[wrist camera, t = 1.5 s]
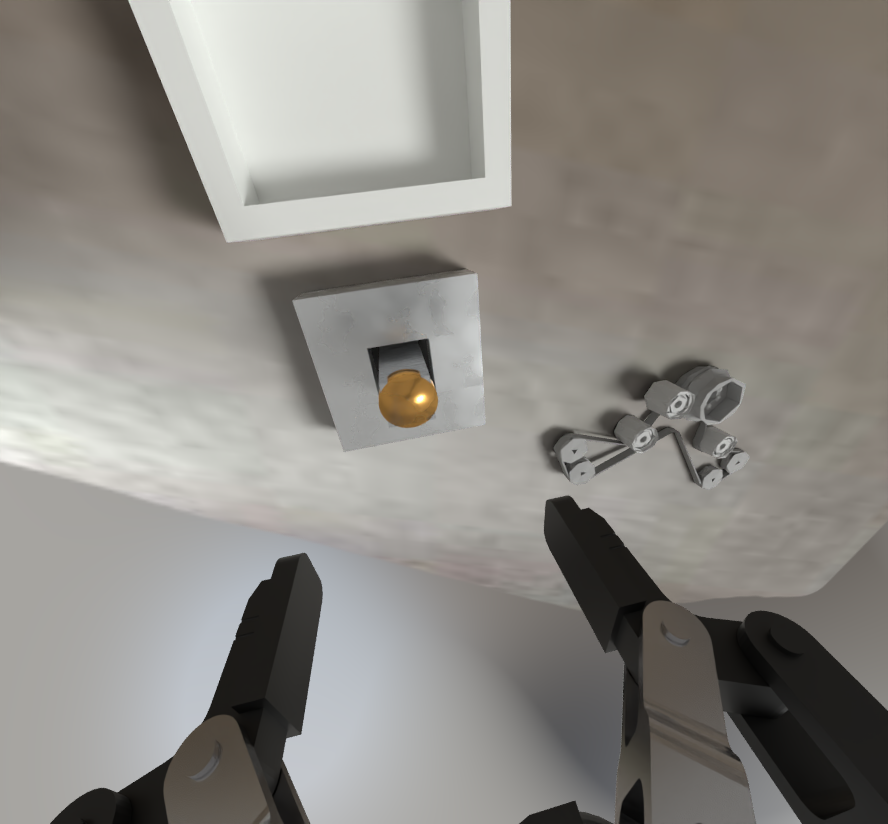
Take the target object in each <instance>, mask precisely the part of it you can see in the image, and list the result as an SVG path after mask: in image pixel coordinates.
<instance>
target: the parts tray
mask: <svg viewBox="0 0 888 824" xmlns="http://www.w3.org/2000/svg"><path fill="white" fill-rule="evenodd" d="M128 1H129V3H130V6H131V8H132V11H133V13H134V16H135V18H136V20H137V23H138V25H139V28H140V30H141V33H142V35H143V38H144V40H145V43H146V45H147V47H148V50H149V52H150V55H151V57H152V60H153V62H154V65H155V67H156V70H157V72H158V75H159V77H160V79H161V82H162V84H163V87H164V89H165V92H166V94H167V97H168V99H169V102H170V104H171V106H172V109H173V111H174V114H175V116H176V119H177V121H178V124H179V126H180V129H181V131H182V133H183V136H184V138H185V141H186V143H187V146H188V148H189V151H190V153H191V156H192V158H193V161H194V163H195V165H196V168H197V170H198V173H199V175H200V178H201V180H202V183H203V185H204V188H205V190H206V192H207V195H208V197H209V200H210V202H211V205H212V207H213V210H214V212H215V215H216V217H217V220H218V222H219V224H220V227H221V229H222V232H223V234H224V237H225V239H226V242H227V243H228V242H243V241H255V240H263V239H271V238H279V237H286V236H294V235H302V234H310V233H318V232H325V231H333V230H341V229H349V228H356V227H364V226H372V225H380V224H387V223H395V222H403V221H411V220H418V219H426V218H434V217H442V216H449V215H457V214H465V213H473V212H480V211H488V210H494V209H499V208H504V207H509V206H511V44H510V0H128Z"/></svg>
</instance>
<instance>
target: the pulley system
mask: <svg viewBox="0 0 888 824" xmlns="http://www.w3.org/2000/svg"><path fill="white" fill-rule="evenodd" d="M745 387H746V384H745V383H742V382H740V381H738V380H736V379H734V378H731V377H730V375H729V372H728V370H727V369H719V368H717V367H712V366H707V367H696V368H694V369H692V370H691V371H689V372H687V373H686V374H684V375H682V377H681V378H680V379H679V380H678V381H677V382H676V384H673V383H671V382H669V381H667V380H663V381H658V382H654V383H653V384H652V386H651V387H650V389H649V390H648V391H647V393H646V394H645V396H644V398H645V402H646V407H647V409H650V410H652V412H651V413H650V415H649V416H648V417H647V419H646V420H645V421H644V422H643V421H642V420H640V419H638V418H637V417H635V416H631V415H626V416H625V417H624V418H622V419H621V420H620V421H619V422H618V424H617V426H616V428H615V430H614V433H615V436H616V438H617V439H618V440H620V441H618V440H612V439H605V438H599V437H593V436H587V435H580V434H574V433H566V434H565V435H564V436H563V437H561V438H560V439H559V440H558V442H557V443H556V445H555V446H554V451H555V453H556V455H557V458H558V460H559V463H560V465H561V467H562V470H563V473H564V475H565V476H566V477H567V479H568V480H569V481H570V482H571V483H573V484H575V485H578V484H585V483H587V482H588V481H589V480H590V479H591V478H593V477H594V476H596V475H598V474H600V473H602V472H603V471H605V470H607V469H609V468H610V467H612V466H614V465H616V464H617V463H619V462H621V461H623V460H624V459H626V458H628V457H630V456H631V455H633V454H635V453H637V452H639V453H641V454H643V453H644V452H646V451H647V450H649V449H650V448H651V447H653V446H654V445H655V443H656V441H658V440H660V439H661V438H663V437H665V436H667V435H669V434H670V433H672V432H674V433H675V436H676V438H677V440H678V443H679V445H680V448H681V450H682V453H683V455H684V457H685V460H686V462H687V465H688V467H689V470H690V472H691V475H692V477H693V479H694V482H695V483H696V484H697V485H699V486H700V487H702V488H704V489H707V490H710V489H711V488H713V487H715V486H717V485H718V484H719V482H720V481H722V480H723V479H724V478H726V477H727V476H729V475H730V474H732V473H733V472H735V471H737V470H739V469H741V468H743V466H744V465H745V463H746V462H747V460H748V459H749V456H748V454H747V453H746V452H745V451H743V450H741V449H734V448H735V445H736V443H737V439H736V437H734V436H732V435H730V434H728V433H726V432H724V431H722V430H720V429H718V428H716V427H707V425H712V424H719V423H720V422H722V421H724V420H725V419H727V418H728V417H730V416H731V415H733V414H734V412H735V411H736V409H737V408H738V407H739V405H740V404H741V402H742V398H743V394H744V391H745ZM659 415H662V416H664V417H667V418H669V419H681V418H682V417H683V418H685V419H686V420H690V421H701V420H702V421H701V423H700V425H699V428H698V430H697V432H696V434H695V437H694V439H693V441H692V443H693V447H694V448H695V449H697V450H699V451H702V452H705V453H707V454H709V455H711V456H713V457H714V458H717V459H719V458H723V459H722V462H721V464H720V466H721V467H722V468H724V469H725V470H724V471H723V472H722V469H718V468H716V467H714V466H712V465H711V466H707V467H704V468H703V469H702V470H701V471H700V472H698V473H697V472H696V469H695V467H694V465H693V463H692V460H691V458H690V456H689V453H688V451H687V449H686V447H685V444H684V442H683V440H682V437H681V435H680V433H679V431H677V430H675V429H674V428H665V429H663V430H661V431H659V432H658V433H657V430H656V429H655V428H653V427H652V424H653V423H654V422H655V420H656V419H657V418H658V416H659ZM586 440H588V441H596V442H603V443H611V444H619V445H626V446H628V447H629V449H627V450H625V451H623V452H622V453H620V454H618V455H616V456H614V457H613V458H611V459H609V460H607V461H605V462H604V463H602V464H600V465H598V466H596V467H594V464H592V463H591V462H590V461H589V459H587V458H586V457H584V454H585V453H586V452H587V451H588V448H587V444H586ZM564 462H567V463H568V464H566V466H565V464H564Z"/></svg>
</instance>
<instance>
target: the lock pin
mask: <svg viewBox="0 0 888 824" xmlns="http://www.w3.org/2000/svg"><path fill="white" fill-rule="evenodd" d="M379 388H380V389H379V409H380V412H381V414H382V415H383V417H384V418H385V419H386V420H387V421H388V425H389V428H391V427H396V426H398V427H402V428H412V427H417V426H420V425H422V424H424V423H425V422H427V421H428V420H433V419H436V415H435V411H436V409H437V406H438V396H437V392H436V389H435V387H434V384H433V382H432V380H431V379H430V375H429V372H428V369H427V366H426V364H425V361H424V358H423V355H422V352H421V349H420V346H419V343H418V340H415V341H409V342H403V343H397V344H391V345H385V346H379Z"/></svg>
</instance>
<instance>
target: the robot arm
mask: <svg viewBox="0 0 888 824" xmlns="http://www.w3.org/2000/svg"><path fill="white" fill-rule="evenodd" d="M544 535H545V539H546V542H547V545H548V547H549V549H550V551H551V553H552V555H553V556H554V558H555V560H556V562H557V564H558V566H559V568H560V569H561V571H562V573H563V575H564V577H565V579H566V581H567V583H568V584H569V586H570V588H571V590H572V592H573V594H574V596H575V597H576V599H577V601H578V603H579V605H580V607H581V609H582V611H583V612H584V614H585V616H586V618H587V620H588V622H589V623H590V625H591V627H592V629H593V631H594V633H595V635H596V637H597V639H598V640H599V642H600V644H601V646H602V648H603V650H604V652H605V653H607V652H611V651H615V650H618V651H619V653H620V655H621V657H622V658H623V661H624V673H623V704H622V705H623V706H622V733H621V734H622V736H621V751H620V758H619V763H618V770H617V781H616V800H615V801H616V802H615V824H756V821H755V816H754V810H753V804H752V799H751V794H750V789H749V784H748V780H747V776H746V773H745V770H744V767H743V765H742V762H741V761H740V759H739V757H738V756H737V755H736V754H734V753H733V752H732V750H731V748H730V745H729V742H728V739H727V733H726V727H725V720H724V714H723V711H725V712H727V713H728V715H729V716H730V718H731V719H732V720H733V722H734V723H735V725H736V726H737V728H738V729H739V731H740V732H741V734H742V735H743V737H744V738H745V740H746V741H747V743H748V744H749V746H750V747H751V749H752V750H753V752H754V753H755V755H756V756H757V758H758V759H759V761H760V762H761V763H762V765H763V767H764V768H765V770H766V771H767V772H768V774H769V775H770V777H771V778H772V780H773V781H774V783H775V784H776V786H777V787H778V789H779V790H780V792H781V793H782V794H783V796H784V798H785V799H786V801H787V802H788V804H789V805H790V807H791V808H792V809H793V811H794V813H795V814H796V815H797V817H798V819H799V820H800V822H801V823H802V824H888V711H887V710H886V709H885V708H884V707H883V706H882V705H881V704H880V703H879V702H878V701H877V700H876V699H875V698H874V697H873V696H872V695H871V694H870V693H869V692H868V691H867V690H866V689H865V688H864V687H863V686H862V685H861V684H860V683H859V682H858V681H857V680H856V679H855V678H854V677H853V676H852V675H851V674H850V673H849V672H848V671H847V670H846V669H845V668H844V667H843V666H842V665H841V664H840V663H839V662H838V661H837V660H836V659H835V658H834V657H833V656H832V655H831V654H830V653H829V652H828V651H827V650H826V649H825V648H824V647H823V646H822V645H821V644H820V643H819V642H818V641H817V640H816V639H815V638H814V637H813V636H812V635H811V634H809V633H808V632H807V631H806V630H805V629H803V628H802V627H801V626H799V625H798V624H796V623H795V622H793V621H791V620H789V619H788V618H785V617H783V616H781V615H779V614H775V613H772V612H767V611H755V612H751V613H750V614H748V616H747V617H746V618H745V620H744V621H743V622H740V621H730V620H722V619H713V618H705V617H700V616H697V615H694V614H692V613H691V612H690V611H688V610H687V609H685V608H684V607H682V606H680V605H678V604H675V603H673V602H671V601H670V600H669V599H668V598H667V597H666V596H665V595H664V594H663V593H662V592H661V591H660V589H659V588H658V587H657V585H656V584H655V583H654V582H653V580H652V579H651V578H650V577H649V575H648V574H647V573H646V571H645V570H644V569H643V568H642V566H641V565H640V564H639V562H638V561H637V560H636V559H635V557H634V556H633V555H632V554H631V552H630V551H629V550H628V548H627V547H625V546H624V543H623V542H622V541H621V540H620V538H619V537H618V536H617V535H615V532H614V531H613V529H612V528H611V527H610V525H609V524H608V523H607V522H606V520H605V519H604V518H603V517H601V516H600V515H598V514H597V513H595V512H594V511H593V510H591V509H590V508H586V509H582V510H581V509H580V508H579V507H578V505H577V504H576V502H575V501H574V500H573V498H572V497H570V496H563V497H558V498H554V499H549V500H547V501H546V506H545V520H544ZM322 595H323V593H322V584H321V580H320V578H319V577H318V575H317V573H316V571H315V569H314V567H313V565H312V563H311V561H310V559H309V557H308V556H307V554H306V553H301V554H297V555H292V556H287V557H283V558H280V559H278V560H277V562H276V564H275V567H274V570H273V574H272V577H271V579H269V580H264V581H262V582H261V583H260V584H259V586H258V587H257V588H256V590H255V591H254V593H253V594H252V596H251V597H250V598H249V600H248V603H247V605H246V608H245V611H244V614H243V617H242V622H241V623H240V625H239V628H238V630H237V633H236V640H234V641H233V644H232V647H231V650H230V653H229V656H228V658H227V661H226V664H225V667H224V669H223V672H222V675H221V678H220V681H219V684H218V686H217V689H216V692H215V695H214V697H213V700H212V703H211V706H210V708H209V711H208V713H207V715H206V717H205V719H204V721H203V722H202V724H201V725H199V726H198V727H197V728H196V729H195V730H194V731H193V732H192V733H191V734H190V735H189V736H188V737H187V738H186V739H185V741H184V742H183V743H182V745H181V746H180V748H179V749H178V751H177V752H176V754H175V755H174V756H173V757H172V758H170V759H169V760H167V761H166V762H165V763H163V764H162V765H160V766H159V767H157V768H155V769H154V770H152V771H151V772H149V773H148V774H146V775H144V776H143V777H141V778H140V779H138V780H136V781H135V782H133V783H132V784H130V785H128V786H127V787H125V788H124V789H122V790H121V791H119V792H114V791H112V790H109V789H106V788H98V789H94V790H92V791H90V792H87V793H86V794H84V795H82V796H81V797H79V798H77V799H76V800H75V801H74V802H72V803H71V804H70V805H68V806H67V807H66V808H65V809H64V810H63V811H62V812H61V813H60V814H59V815H58V816H57V817H56V818H55V819H54V820H53V821H52V822H51V823H50V824H310V822H309V819H308V817H307V815H306V813H305V810H304V808H303V806H302V803H301V801H300V799H299V796H298V794H297V791H296V789H295V787H294V785H293V782H292V780H291V777H290V775H289V773H288V771H287V768H286V766H285V764H284V762H283V760H282V758H283V752H284V747H285V742H286V738H289V737H293V736H297V735H301V731H302V726H303V720H304V713H305V706H306V700H307V694H308V687H309V681H310V675H311V669H312V662H313V656H314V649H315V642H316V637H317V630H318V624H319V618H320V611H321V605H322ZM520 824H613V823H611V822H609V821H607V820H605V819H603V818H601V817H599V816H595V815H592V814H589V813H586V812H579V810H578V807H577V805H576V801H572V802H569V803H566V804H563V805H560V806H557V807H554V808H550V809H547V810H544V811H541V812H538V813H535V814H532V815H529V816H528V817H527V818H525V819H524V820H523V821H522V822H521V823H520Z"/></svg>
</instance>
